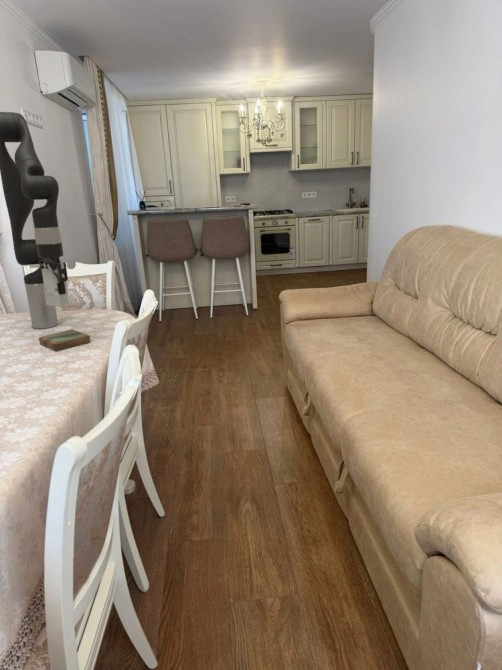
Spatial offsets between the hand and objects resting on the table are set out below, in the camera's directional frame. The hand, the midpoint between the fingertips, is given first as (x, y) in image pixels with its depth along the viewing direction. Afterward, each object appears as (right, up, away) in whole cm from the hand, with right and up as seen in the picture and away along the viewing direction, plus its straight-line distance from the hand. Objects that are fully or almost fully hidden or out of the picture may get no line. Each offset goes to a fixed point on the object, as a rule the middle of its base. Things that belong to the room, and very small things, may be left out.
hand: (56, 292), depth 147 cm
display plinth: (+1, -17, +5) cm, 18 cm away
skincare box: (0, -4, +1) cm, 4 cm away
